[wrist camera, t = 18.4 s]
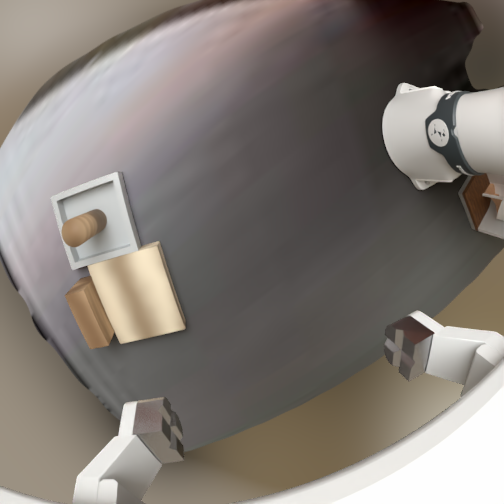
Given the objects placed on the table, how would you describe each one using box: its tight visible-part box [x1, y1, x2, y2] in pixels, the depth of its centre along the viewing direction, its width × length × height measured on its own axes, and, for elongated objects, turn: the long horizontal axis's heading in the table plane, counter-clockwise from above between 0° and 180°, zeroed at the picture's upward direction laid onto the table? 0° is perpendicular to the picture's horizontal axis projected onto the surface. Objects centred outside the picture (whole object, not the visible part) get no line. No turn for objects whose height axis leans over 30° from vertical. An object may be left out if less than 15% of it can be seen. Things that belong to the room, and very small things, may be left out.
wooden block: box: [65, 276, 115, 349], centre depth 33 cm, size 3×8×6 cm, turn 12°
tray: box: [51, 172, 142, 270], centre depth 32 cm, size 10×10×2 cm
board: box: [88, 241, 185, 344], centre depth 35 cm, size 10×12×3 cm
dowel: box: [61, 209, 107, 247], centre depth 28 cm, size 3×3×8 cm
